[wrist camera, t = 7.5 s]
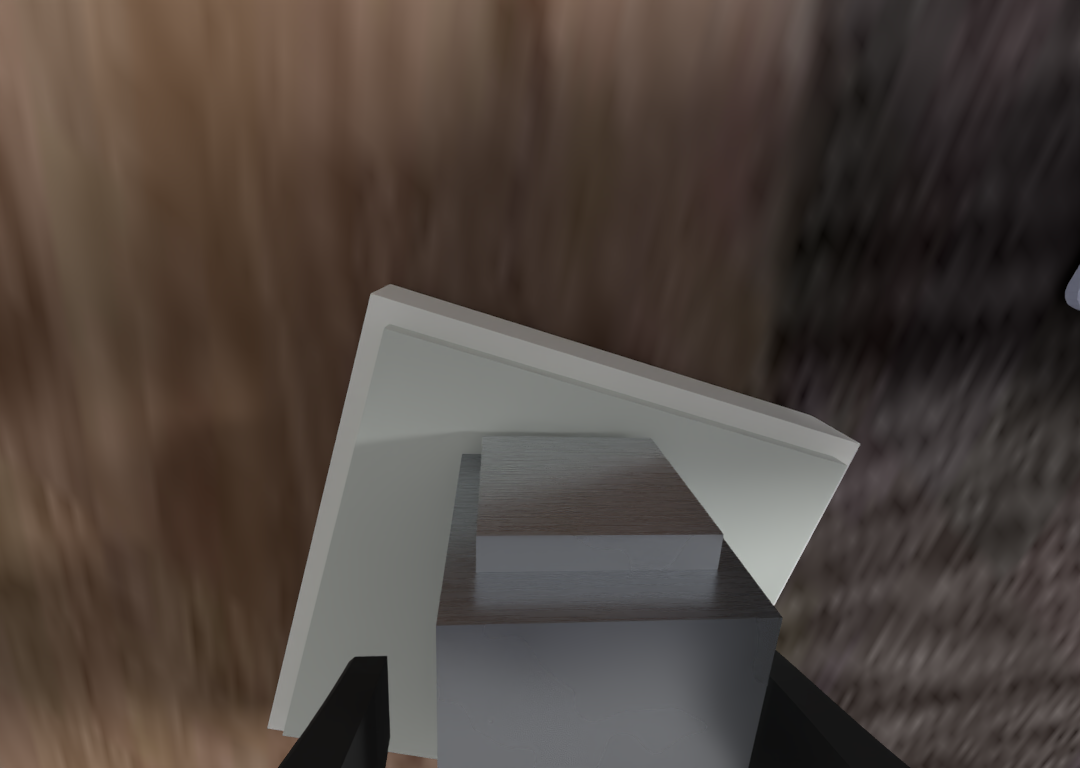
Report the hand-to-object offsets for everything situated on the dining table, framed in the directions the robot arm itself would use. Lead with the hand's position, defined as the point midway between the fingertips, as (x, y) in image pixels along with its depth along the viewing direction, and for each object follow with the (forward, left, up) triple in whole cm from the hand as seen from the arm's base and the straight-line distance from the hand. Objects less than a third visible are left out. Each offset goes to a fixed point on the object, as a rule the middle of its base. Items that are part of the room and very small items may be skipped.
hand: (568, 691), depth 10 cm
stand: (0, 0, -5) cm, 5 cm away
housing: (0, 0, -2) cm, 2 cm away
